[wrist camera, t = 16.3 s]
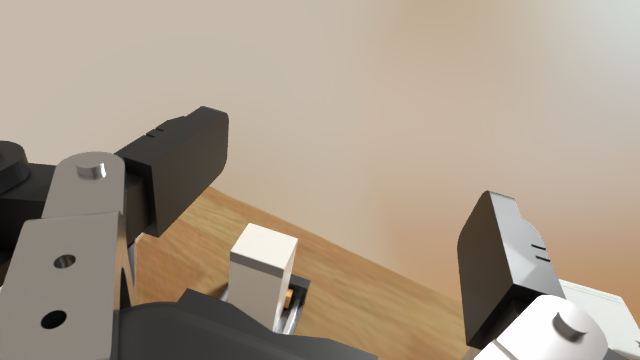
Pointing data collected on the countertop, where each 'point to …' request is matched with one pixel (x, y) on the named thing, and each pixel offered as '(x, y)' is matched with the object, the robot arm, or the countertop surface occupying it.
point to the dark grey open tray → (294, 310)
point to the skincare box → (600, 319)
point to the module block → (261, 273)
